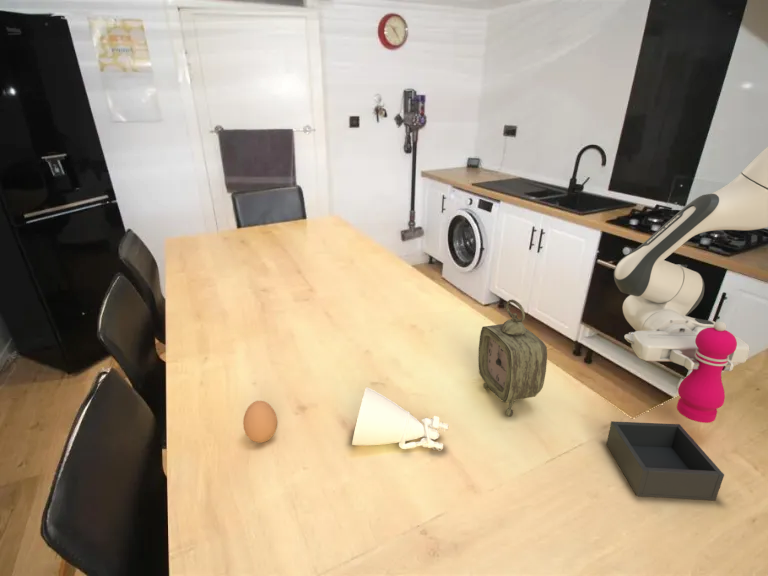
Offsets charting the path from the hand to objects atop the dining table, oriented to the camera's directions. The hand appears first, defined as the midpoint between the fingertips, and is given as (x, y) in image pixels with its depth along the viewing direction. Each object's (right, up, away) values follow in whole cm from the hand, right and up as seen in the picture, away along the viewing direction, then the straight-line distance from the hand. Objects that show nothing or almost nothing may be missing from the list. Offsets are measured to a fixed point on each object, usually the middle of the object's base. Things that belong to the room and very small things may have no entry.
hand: (712, 367), depth 77 cm
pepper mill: (0, -10, +5) cm, 11 cm away
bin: (-12, -19, -2) cm, 22 cm away
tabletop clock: (-33, -11, +19) cm, 40 cm away
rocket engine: (-59, -17, +6) cm, 62 cm away
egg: (-87, -17, +8) cm, 89 cm away
